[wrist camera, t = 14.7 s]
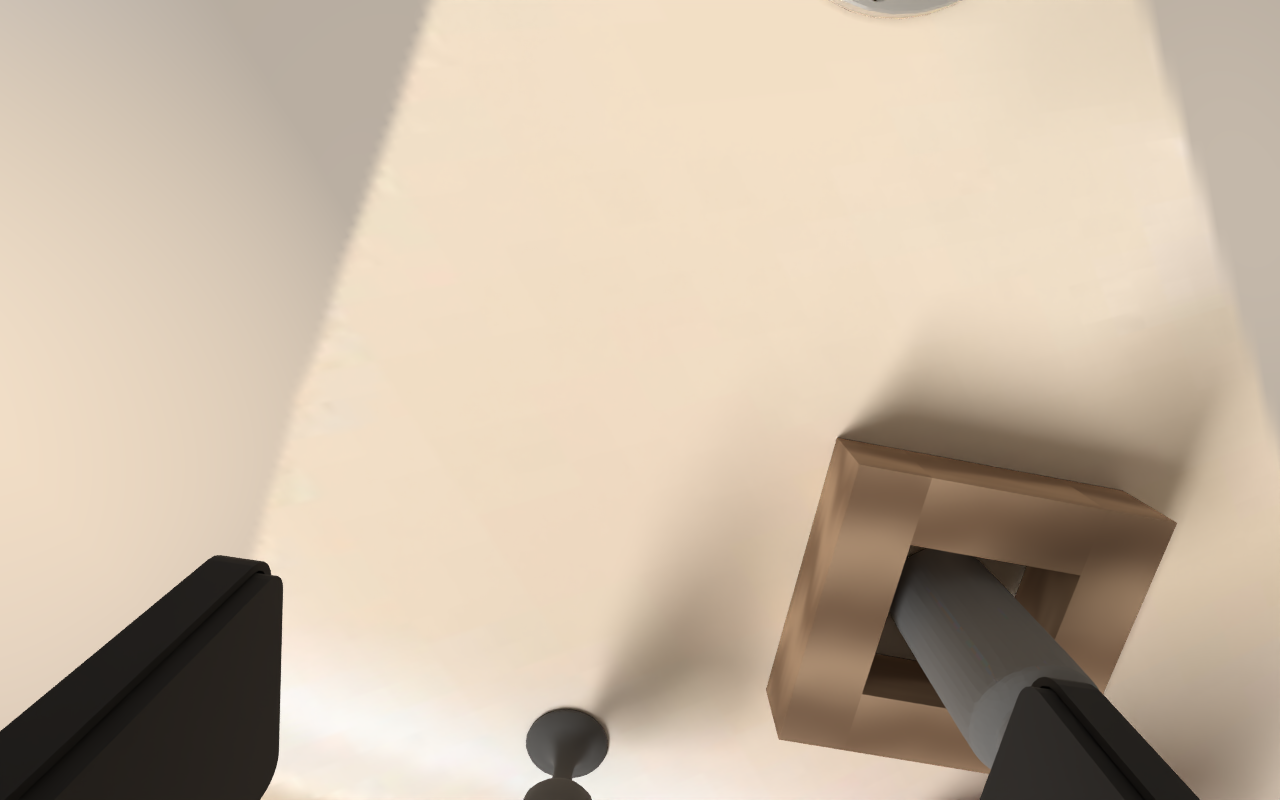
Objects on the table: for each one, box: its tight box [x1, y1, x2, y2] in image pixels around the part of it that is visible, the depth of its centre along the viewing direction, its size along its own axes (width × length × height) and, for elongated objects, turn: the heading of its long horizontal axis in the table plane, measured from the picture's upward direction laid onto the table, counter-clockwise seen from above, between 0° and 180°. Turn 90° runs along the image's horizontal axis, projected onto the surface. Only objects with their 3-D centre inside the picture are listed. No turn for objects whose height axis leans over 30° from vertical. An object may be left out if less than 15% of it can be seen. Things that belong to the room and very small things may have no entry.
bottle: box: [889, 548, 1099, 769], centre depth 33 cm, size 6×6×15 cm
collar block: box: [766, 438, 1177, 774], centre depth 38 cm, size 16×16×4 cm
